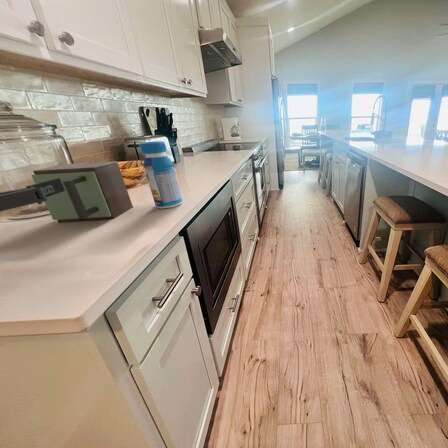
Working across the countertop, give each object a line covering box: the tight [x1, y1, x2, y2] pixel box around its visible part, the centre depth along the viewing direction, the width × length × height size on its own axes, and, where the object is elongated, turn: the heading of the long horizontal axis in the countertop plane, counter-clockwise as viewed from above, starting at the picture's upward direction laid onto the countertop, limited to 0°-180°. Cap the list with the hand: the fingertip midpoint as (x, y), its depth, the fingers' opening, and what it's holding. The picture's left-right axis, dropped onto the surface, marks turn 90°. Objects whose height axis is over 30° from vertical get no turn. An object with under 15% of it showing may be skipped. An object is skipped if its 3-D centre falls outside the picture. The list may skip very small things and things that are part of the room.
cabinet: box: [32, 161, 134, 223], centre depth 72 cm, size 16×10×15 cm, turn 93°
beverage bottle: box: [139, 140, 183, 209], centre depth 76 cm, size 8×8×20 cm
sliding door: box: [31, 171, 111, 221], centre depth 64 cm, size 16×7×13 cm, turn 93°
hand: (27, 186), depth 51 cm, fingers open, 13 cm apart
